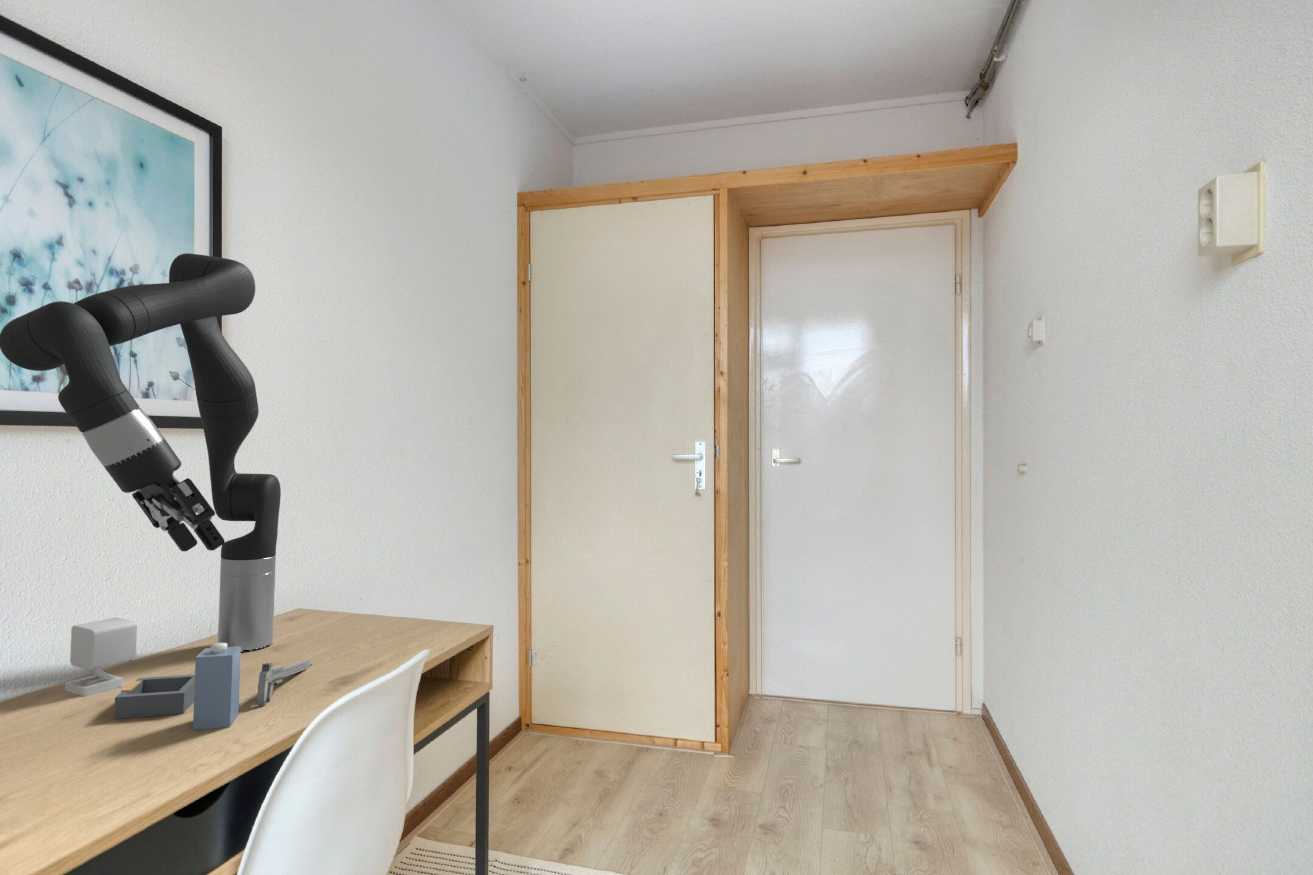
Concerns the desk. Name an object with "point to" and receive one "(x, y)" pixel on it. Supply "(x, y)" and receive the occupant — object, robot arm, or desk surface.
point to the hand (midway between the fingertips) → (203, 547)
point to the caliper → (276, 678)
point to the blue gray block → (216, 687)
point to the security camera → (100, 653)
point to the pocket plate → (155, 696)
